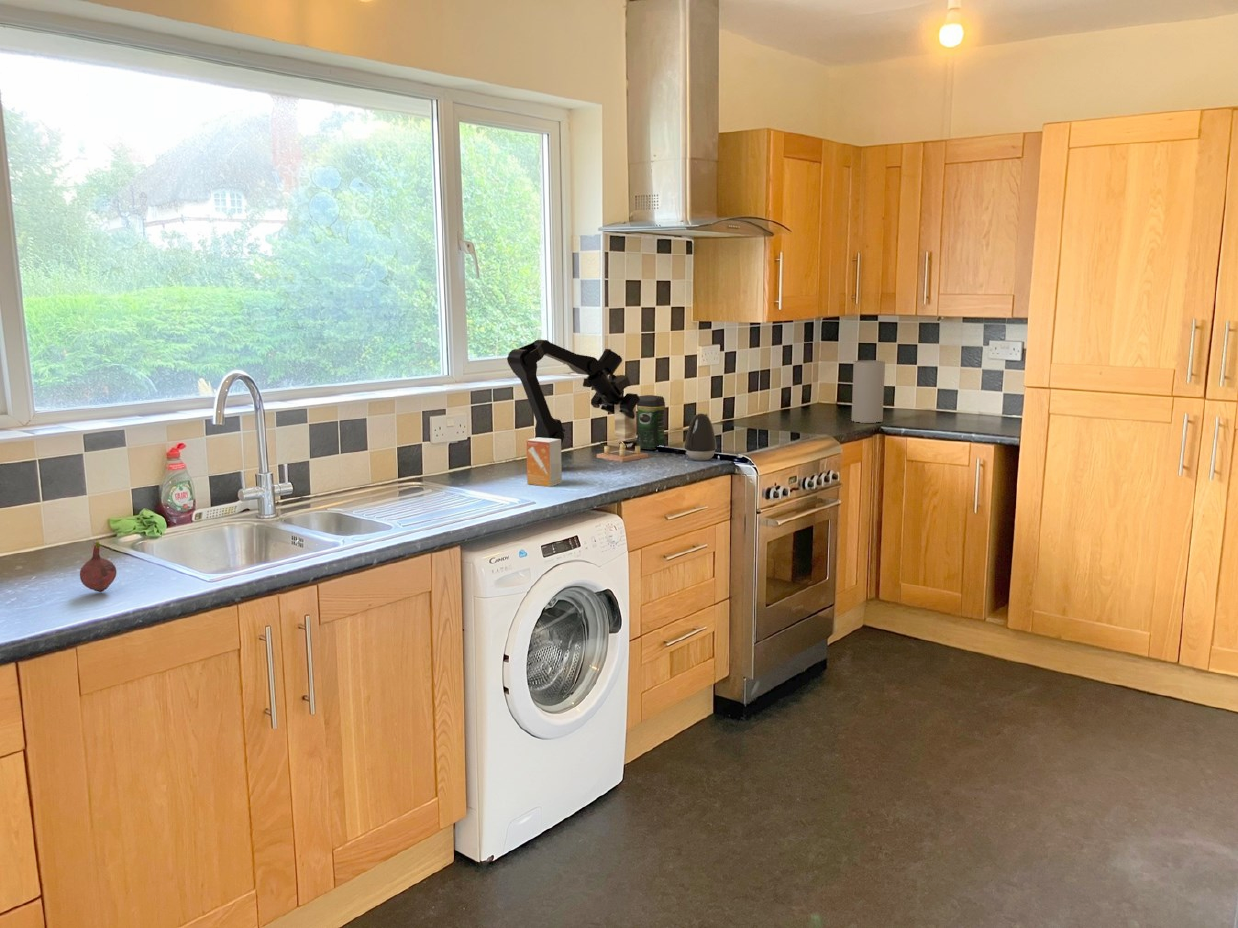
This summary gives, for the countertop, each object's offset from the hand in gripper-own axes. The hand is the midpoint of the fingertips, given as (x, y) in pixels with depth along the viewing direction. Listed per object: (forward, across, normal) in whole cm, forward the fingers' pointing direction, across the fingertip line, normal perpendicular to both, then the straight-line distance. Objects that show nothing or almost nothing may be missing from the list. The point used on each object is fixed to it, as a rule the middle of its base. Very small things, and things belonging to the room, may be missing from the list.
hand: (628, 417), depth 320 cm
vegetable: (-110, -40, +130) cm, 175 cm away
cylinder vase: (+101, -5, -82) cm, 130 cm away
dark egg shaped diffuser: (+20, -19, -1) cm, 28 cm away
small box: (-23, -16, +43) cm, 51 cm away
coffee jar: (+23, +9, -4) cm, 25 cm away
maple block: (+4, 0, +6) cm, 7 cm away
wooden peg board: (+9, +2, +10) cm, 14 cm away
